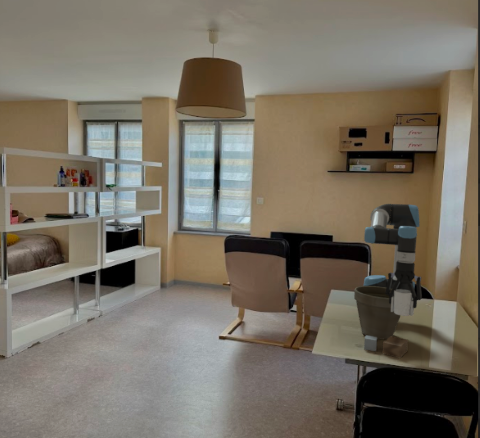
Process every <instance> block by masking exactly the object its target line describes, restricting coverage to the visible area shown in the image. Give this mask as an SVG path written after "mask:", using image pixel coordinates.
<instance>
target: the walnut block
mask: <svg viewBox="0 0 480 438" xmlns="http://www.w3.org/2000/svg"><path fill="white" fill-rule="evenodd" d="M408 345H409V340H408V339H406V338H401V337H397V336H394V335H393V336H390V337H389V338H388V339H384V341H383V342H382V354H383V355H388V356H391V357H395V358H398V359H401V358H402V357H403V356H404V355H405V354H406V353H407V352H408Z"/></svg>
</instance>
